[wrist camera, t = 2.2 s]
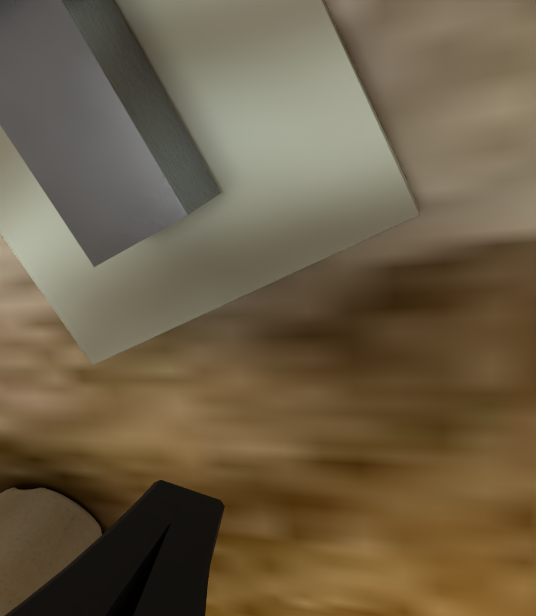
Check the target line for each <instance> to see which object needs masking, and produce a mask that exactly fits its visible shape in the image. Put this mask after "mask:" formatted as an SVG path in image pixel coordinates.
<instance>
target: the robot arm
mask: <svg viewBox="0 0 536 616" xmlns="http://www.w3.org/2000/svg"><path fill="white" fill-rule="evenodd" d="M224 507H225V506H224V505H223V503H222V502H221V500H218V499H215V498H212V497H209V496H207V495H204V494H201V493H198V492H195V491H192V490H189V489H186V488H183V487H180V486H177V485H174V484H172V483H169V482H166V481H163V480H159V481H157V482H155V483H154V484H153V485H152V486H151V487H150V488H149V489H148V490H147V491H146V493H145V494H144V495H143V496H142V497H141V498H140V499H139V500H138V501H137V502H136V503H135V504H134V505H133V506H132V507H131V508H130V509H129V510H128V511H127V512H126V513H125V514H124V515H123V516H122V517H121V518H120V519H119V520H118V521H117V522H116V523H114V524H113V525H112V526H111V527H110V528H109V529H108V530H107V531H106V532H105V533H104V534H103V535H102V536H100V537H99V538H98V539H97V540H96V541H95V542H94V543H93V544H91V545H90V546H89V547H88V548H87V549H86V550H85V551H84V552H82V553H81V554H80V555H79V556H78V557H77V558H76V559H75V560H73V561H72V562H71V563H70V564H69V565H68V566H66V567H65V568H64V569H63V570H62V571H60V572H59V573H58V574H57V575H55V576H54V577H53V578H52V579H50V580H49V581H48V582H47V583H45V584H44V585H43V586H42V587H40V588H39V589H38V590H37V591H35V592H34V593H33V594H32V595H30V596H29V597H28V598H27V599H25V600H24V601H23V602H22V603H20V604H19V605H18V606H17V607H15V608H14V609H13V610H11V611H10V612H9V613H7V614H6V615H5V616H205V610H206V598H207V586H208V578H209V569H210V563H211V559H212V555H213V551H214V547H215V543H216V539H217V535H218V531H219V527H220V523H221V519H222V515H223V511H224Z"/></svg>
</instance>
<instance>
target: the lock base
mask: <svg viewBox="0 0 536 616" xmlns="http://www.w3.org/2000/svg"><path fill="white" fill-rule="evenodd" d="M112 1H113V2H114V4H115V6H116V8H117V9H118V11H119V13H120V15H121V17H122V18H123V20H124V22H125V24H126V25H127V27H128V29H129V31H130V33H131V34H132V36H133V38H134V40H135V41H136V43H137V45H138V47H139V49H140V50H141V52H142V54H143V56H144V57H145V59H146V61H147V63H148V65H149V66H150V68H151V70H152V72H153V73H154V75H155V77H156V79H157V81H158V82H159V84H160V86H161V88H162V89H163V91H164V93H165V95H166V97H167V98H168V100H169V102H170V104H171V105H172V107H173V109H174V111H175V113H176V114H177V116H178V118H179V120H180V121H181V123H182V125H183V127H184V129H185V130H186V132H187V134H188V136H189V137H190V139H191V141H192V143H193V145H194V146H195V148H196V150H197V152H198V153H199V155H200V157H201V159H202V160H203V162H204V164H205V166H206V168H207V169H208V171H209V173H210V175H211V176H212V178H213V180H214V182H215V184H216V185H217V187H218V189H219V191H220V192H221V194H219V195H218V196H216V197H215V198H213V199H212V200H210V201H208V202H207V203H205V204H204V205H202V206H201V207H199V208H198V209H196V210H195V211H193V212H192V213H190V214H189V215H187V216H185V217H183V218H182V219H180V220H178V221H176V222H175V223H173V224H171V225H169V226H167V227H166V228H164V229H162V230H160V231H158V232H157V233H155V234H153V235H151V236H149V237H148V238H146V239H144V240H142V241H140V242H139V243H137V244H135V245H133V246H131V247H130V248H128V249H126V250H124V251H123V252H121V253H119V254H117V255H115V256H114V257H112V258H110V259H108V260H106V261H105V262H103V263H101V264H99V265H97V266H96V267H94V266H93V265H92V263H91V262H90V260H89V259H88V257H87V256H86V254H85V253H84V251H83V250H82V248H81V247H80V245H79V244H78V242H77V241H76V239H75V238H74V236H73V234H72V233H71V231H70V230H69V228H68V227H67V225H66V224H65V222H64V221H63V219H62V218H61V216H60V215H59V213H58V212H57V210H56V209H55V207H54V206H53V204H52V203H51V201H50V200H49V198H48V197H47V195H46V194H45V192H44V191H43V189H42V188H41V186H40V185H39V183H38V181H37V180H36V178H35V177H34V175H33V174H32V172H31V171H30V169H29V168H28V166H27V165H26V163H25V162H24V160H23V159H22V157H21V156H20V154H19V153H18V151H17V150H16V148H15V147H14V145H13V144H12V142H11V141H10V139H9V138H8V136H7V135H6V133H5V131H4V130H3V128H2V127H1V125H0V234H1V235H2V237H3V238H4V240H5V241H6V242H7V244H8V245H9V247H10V248H11V249H12V251H13V252H14V254H15V255H16V257H17V258H18V259H19V261H20V262H21V264H22V265H23V267H24V268H25V269H26V271H27V272H28V274H29V275H30V277H31V278H32V279H33V281H34V282H35V284H36V285H37V287H38V288H39V289H40V291H41V292H42V294H43V295H44V297H45V298H46V299H47V301H48V302H49V304H50V305H51V307H52V308H53V309H54V311H55V312H56V314H57V315H58V317H59V318H60V319H61V321H62V322H63V324H64V325H65V327H66V328H67V329H68V331H69V332H70V334H71V335H72V337H73V338H74V339H75V341H76V342H77V344H78V345H79V347H80V348H81V349H82V351H83V352H84V354H85V355H86V356H87V358H88V359H89V361H90V362H91V364H92V365H95V364H97V363H99V362H101V361H103V360H105V359H108V358H110V357H112V356H114V355H116V354H118V353H121V352H123V351H125V350H127V349H129V348H132V347H134V346H136V345H138V344H140V343H142V342H145V341H147V340H149V339H151V338H153V337H155V336H158V335H160V334H162V333H164V332H166V331H168V330H171V329H173V328H175V327H177V326H179V325H182V324H184V323H186V322H188V321H190V320H192V319H195V318H197V317H199V316H201V315H203V314H205V313H208V312H210V311H212V310H214V309H216V308H218V307H221V306H223V305H225V304H227V303H229V302H231V301H234V300H236V299H238V298H240V297H242V296H245V295H247V294H249V293H251V292H253V291H255V290H258V289H260V288H262V287H264V286H266V285H268V284H271V283H273V282H275V281H277V280H279V279H281V278H284V277H286V276H288V275H290V274H292V273H295V272H297V271H299V270H301V269H303V268H305V267H308V266H310V265H312V264H314V263H316V262H318V261H321V260H323V259H325V258H327V257H329V256H331V255H334V254H336V253H338V252H340V251H342V250H344V249H347V248H349V247H351V246H353V245H355V244H358V243H360V242H362V241H364V240H366V239H368V238H371V237H373V236H375V235H377V234H379V233H381V232H384V231H386V230H388V229H390V228H392V227H394V226H397V225H399V224H401V223H403V222H405V221H408V220H410V219H412V218H414V217H416V216H418V215H420V213H419V209H418V204H417V202H416V200H415V198H414V196H413V193H412V191H411V189H410V187H409V185H408V183H407V180H406V178H405V176H404V174H403V172H402V169H401V167H400V165H399V163H398V161H397V158H396V156H395V154H394V152H393V150H392V147H391V145H390V143H389V141H388V139H387V137H386V134H385V132H384V130H383V128H382V126H381V123H380V121H379V119H378V117H377V115H376V112H375V110H374V108H373V106H372V104H371V101H370V99H369V97H368V95H367V93H366V91H365V88H364V86H363V84H362V82H361V80H360V77H359V75H358V73H357V71H356V69H355V66H354V64H353V62H352V60H351V58H350V56H349V53H348V51H347V49H346V47H345V45H344V42H343V40H342V38H341V36H340V34H339V31H338V29H337V27H336V25H335V23H334V20H333V18H332V16H331V14H330V12H329V10H328V7H327V5H326V3H325V1H324V0H112Z"/></svg>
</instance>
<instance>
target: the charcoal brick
mask: <svg viewBox="0 0 536 616" xmlns="http://www.w3.org/2000/svg"><path fill="white" fill-rule="evenodd" d="M0 125H1V127H2V128H3V130H4V131H5V133H6V135H7V136H8V138H9V139H10V141H11V142H12V144H13V145H14V147H15V148H16V150H17V151H18V153H19V154H20V156H21V157H22V159H23V160H24V162H25V163H26V165H27V166H28V168H29V169H30V171H31V172H32V174H33V175H34V177H35V178H36V180H37V181H38V183H39V185H40V186H41V188H42V189H43V191H44V192H45V194H46V195H47V197H48V198H49V200H50V201H51V203H52V204H53V206H54V207H55V209H56V210H57V212H58V213H59V215H60V216H61V218H62V219H63V221H64V222H65V224H66V225H67V227H68V228H69V230H70V231H71V233H72V234H73V236H74V238H75V239H76V241H77V242H78V244H79V245H80V247H81V248H82V250H83V251H84V253H85V254H86V256H87V257H88V259H89V260H90V262H91V263H92V265H93V266H94V267H96V266H97V265H99V264H101V263H103V262H105V261H106V260H108V259H110V258H112V257H114V256H115V255H117V254H119V253H121V252H123V251H124V250H126V249H128V248H130V247H131V246H133V245H135V244H137V243H139V242H140V241H142V240H144V239H146V238H148V237H149V236H151V235H153V234H155V233H157V232H158V231H160V230H162V229H164V228H166V227H167V226H169V225H171V224H173V223H175V222H176V221H178V220H180V219H182V218H183V217H185V216H187V215H189V214H190V213H192V212H193V211H195V210H196V209H198V208H199V207H201V206H202V205H204V204H205V203H207V202H208V201H210V200H212V199H213V198H215V197H216V196H218V195H219V194H221V192H220V191H219V189H218V187H217V185H216V184H215V182H214V180H213V178H212V176H211V175H210V173H209V171H208V169H207V168H206V166H205V164H204V162H203V160H202V159H201V157H200V155H199V153H198V152H197V150H196V148H195V146H194V145H193V143H192V141H191V139H190V137H189V136H188V134H187V132H186V130H185V129H184V127H183V125H182V123H181V121H180V120H179V118H178V116H177V114H176V113H175V111H174V109H173V107H172V105H171V104H170V102H169V100H168V98H167V97H166V95H165V93H164V91H163V89H162V88H161V86H160V84H159V82H158V81H157V79H156V77H155V75H154V73H153V72H152V70H151V68H150V66H149V65H148V63H147V61H146V59H145V57H144V56H143V54H142V52H141V50H140V49H139V47H138V45H137V43H136V41H135V40H134V38H133V36H132V34H131V33H130V31H129V29H128V27H127V25H126V24H125V22H124V20H123V18H122V17H121V15H120V13H119V11H118V9H117V8H116V6H115V4H114V2H113V1H112V0H0Z"/></svg>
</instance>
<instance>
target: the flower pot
mask: <svg viewBox="0 0 536 616" xmlns="http://www.w3.org/2000/svg"><path fill="white" fill-rule="evenodd" d="M100 536H102V532H101V528H100V526H99V524H98V523H97V522H96V520H95V519H94V518H93V517H92V516H91V515H90V514H89V513H88V512H87V511H86V510H85V509H84V508H82V507H81V506H79V505H78V504H77V503H75V502H73V501H72V500H70V499H69V498H67V497H65V496H63V495H61V494H59V493H57V492H54V491H52V490H49V489H45V488H37V489H30V490H19V489H17V488H10V489H8V490H6V491H4V492H2V493H0V616H5V615H6V614H7V613H9V612H10V611H11V610H13V609H14V608H15V607H17V606H18V605H19V604H20V603H22V602H23V601H24V600H25V599H27V598H28V597H29V596H30V595H32V594H33V593H34V592H35V591H37V590H38V589H39V588H40V587H42V586H43V585H44V584H45V583H47V582H48V581H49V580H50V579H52V578H53V577H54V576H55V575H57V574H58V573H59V572H60V571H62V570H63V569H64V568H65V567H66V566H68V565H69V564H70V563H71V562H72V561H73V560H75V559H76V558H77V557H78V556H79V555H80V554H81V553H82V552H84V551H85V550H86V549H87V548H88V547H89V546H90V545H91V544H93V543H94V542H95V541H96V540H97V539H98V538H99V537H100Z"/></svg>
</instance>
